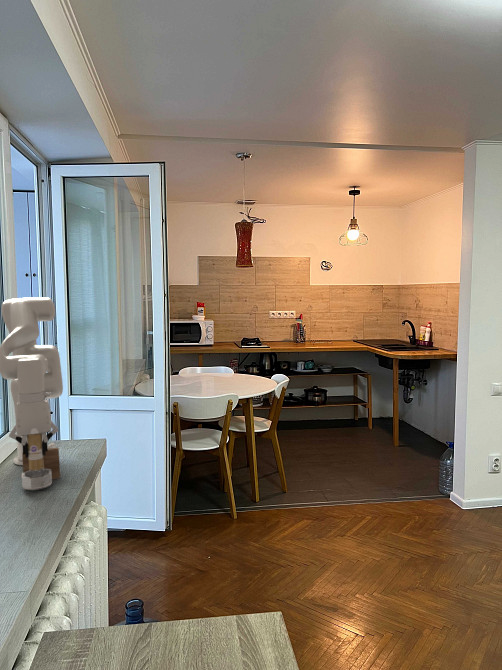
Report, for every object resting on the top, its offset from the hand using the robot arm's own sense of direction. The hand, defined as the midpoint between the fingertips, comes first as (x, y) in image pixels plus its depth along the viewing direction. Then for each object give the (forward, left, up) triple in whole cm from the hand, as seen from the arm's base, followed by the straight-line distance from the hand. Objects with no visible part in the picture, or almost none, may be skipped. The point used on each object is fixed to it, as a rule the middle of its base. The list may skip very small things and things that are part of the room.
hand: (35, 454), depth 164 cm
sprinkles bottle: (0, 0, -5) cm, 5 cm away
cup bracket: (-1, -1, -10) cm, 10 cm away
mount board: (-8, -6, -11) cm, 15 cm away
